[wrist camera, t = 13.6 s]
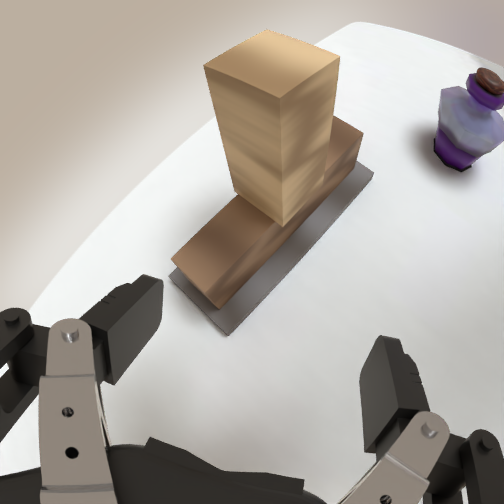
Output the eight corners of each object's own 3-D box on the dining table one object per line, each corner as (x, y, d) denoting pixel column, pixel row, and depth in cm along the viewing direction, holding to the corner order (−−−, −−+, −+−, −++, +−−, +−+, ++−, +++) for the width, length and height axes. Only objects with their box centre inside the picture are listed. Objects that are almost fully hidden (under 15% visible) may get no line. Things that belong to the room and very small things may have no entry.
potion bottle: (489, 156, 29) (531, 89, 18) (470, 196, 27) (524, 123, 16) (435, 116, 32) (464, 42, 21) (409, 149, 30) (443, 64, 19)
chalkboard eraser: (316, 142, 31) (320, 99, 26) (371, 178, 29) (386, 138, 24) (172, 279, 27) (145, 253, 21) (228, 335, 25) (212, 322, 19)
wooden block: (275, 154, 24) (266, 29, 14) (322, 185, 22) (340, 56, 12) (234, 191, 23) (203, 65, 13) (282, 227, 21) (279, 98, 11)
